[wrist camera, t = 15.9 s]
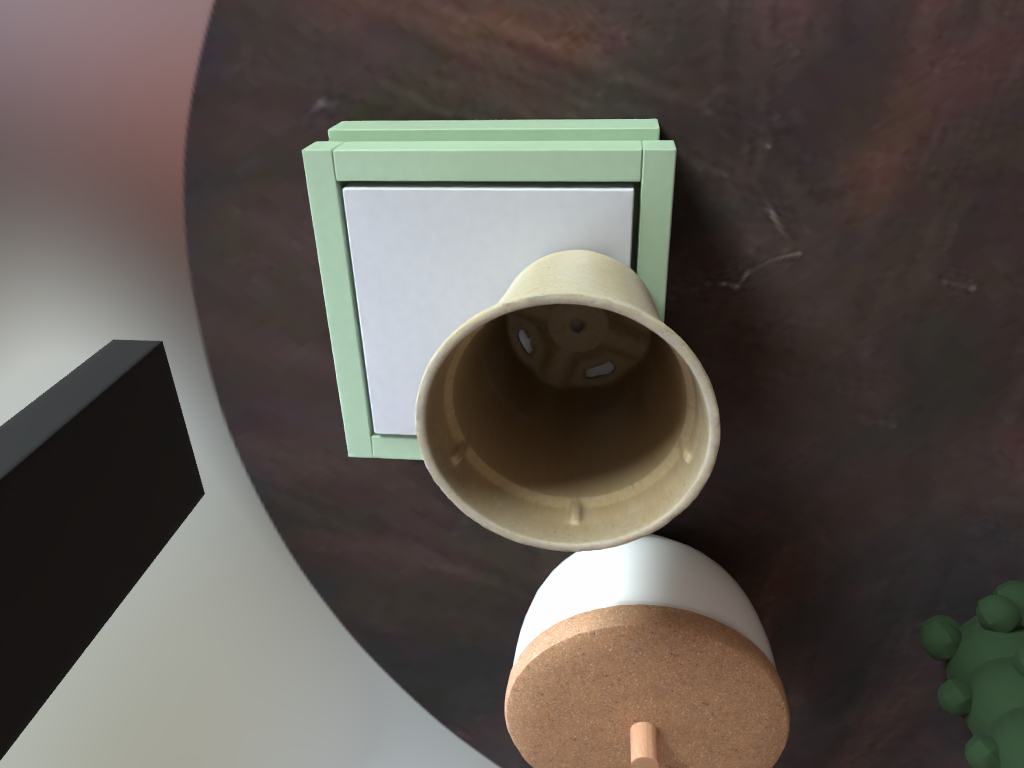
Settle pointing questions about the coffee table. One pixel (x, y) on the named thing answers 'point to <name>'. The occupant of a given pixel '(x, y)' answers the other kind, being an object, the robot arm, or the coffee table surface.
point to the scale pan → (459, 264)
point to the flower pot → (569, 410)
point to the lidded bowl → (645, 666)
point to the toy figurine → (985, 675)
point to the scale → (472, 157)
